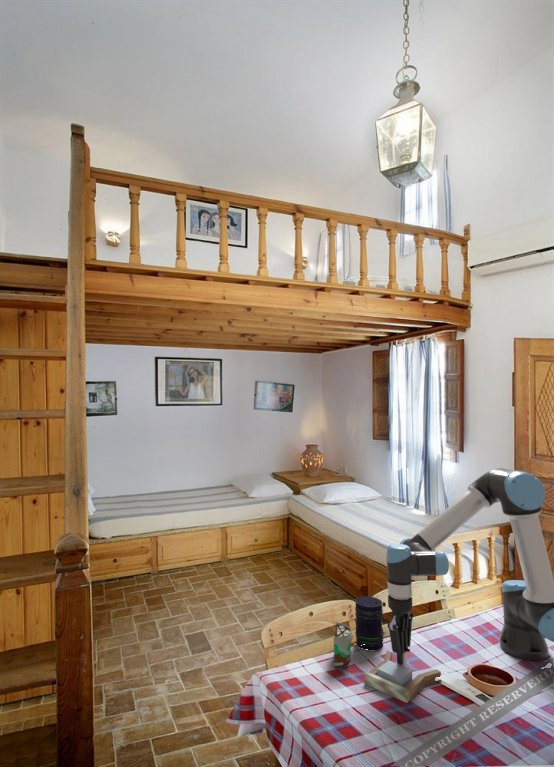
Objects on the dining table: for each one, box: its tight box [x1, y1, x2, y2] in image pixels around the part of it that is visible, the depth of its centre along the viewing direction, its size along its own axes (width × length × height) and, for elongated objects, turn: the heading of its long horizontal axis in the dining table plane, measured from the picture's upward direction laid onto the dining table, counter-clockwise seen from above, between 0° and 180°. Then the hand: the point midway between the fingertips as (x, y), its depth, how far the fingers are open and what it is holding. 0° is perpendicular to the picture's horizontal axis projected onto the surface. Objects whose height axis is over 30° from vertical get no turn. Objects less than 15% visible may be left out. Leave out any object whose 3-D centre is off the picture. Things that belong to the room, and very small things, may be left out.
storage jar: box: [354, 596, 384, 651], centre depth 159 cm, size 10×10×15 cm
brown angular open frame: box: [363, 650, 442, 704], centre depth 136 cm, size 19×18×3 cm
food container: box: [333, 622, 354, 669], centre depth 147 cm, size 12×6×10 cm, turn 168°
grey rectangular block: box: [377, 660, 413, 687], centre depth 134 cm, size 8×7×4 cm
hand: (402, 673), depth 137 cm, fingers closed
